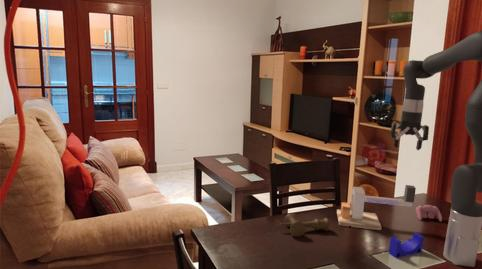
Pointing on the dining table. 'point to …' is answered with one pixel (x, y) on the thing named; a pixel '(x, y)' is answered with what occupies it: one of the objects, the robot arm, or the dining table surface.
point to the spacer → (345, 210)
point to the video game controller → (428, 208)
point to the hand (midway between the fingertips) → (406, 148)
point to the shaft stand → (359, 213)
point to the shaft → (406, 201)
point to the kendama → (303, 224)
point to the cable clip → (406, 246)
